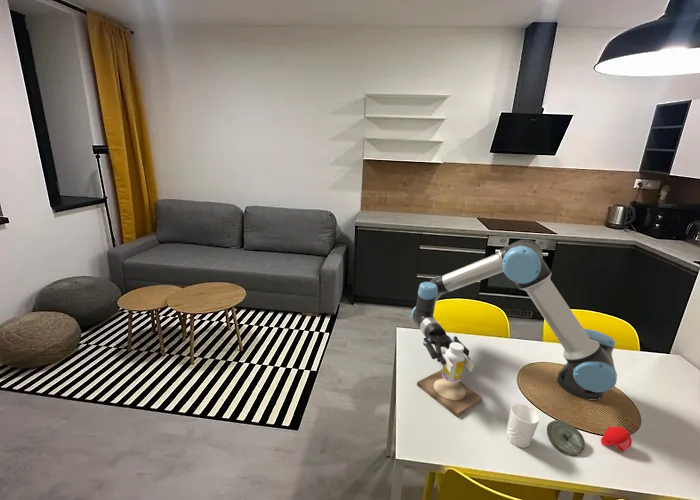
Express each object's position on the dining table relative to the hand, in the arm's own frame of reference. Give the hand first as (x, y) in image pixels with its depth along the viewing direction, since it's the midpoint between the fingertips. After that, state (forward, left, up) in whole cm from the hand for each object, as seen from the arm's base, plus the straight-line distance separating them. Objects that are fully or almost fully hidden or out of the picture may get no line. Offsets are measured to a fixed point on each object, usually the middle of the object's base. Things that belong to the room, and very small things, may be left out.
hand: (461, 368), depth 117 cm
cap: (-39, -28, -14) cm, 50 cm away
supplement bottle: (+5, -2, -8) cm, 9 cm away
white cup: (-21, -4, -14) cm, 25 cm away
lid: (-29, -15, -14) cm, 36 cm away
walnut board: (+4, -2, -14) cm, 15 cm away
